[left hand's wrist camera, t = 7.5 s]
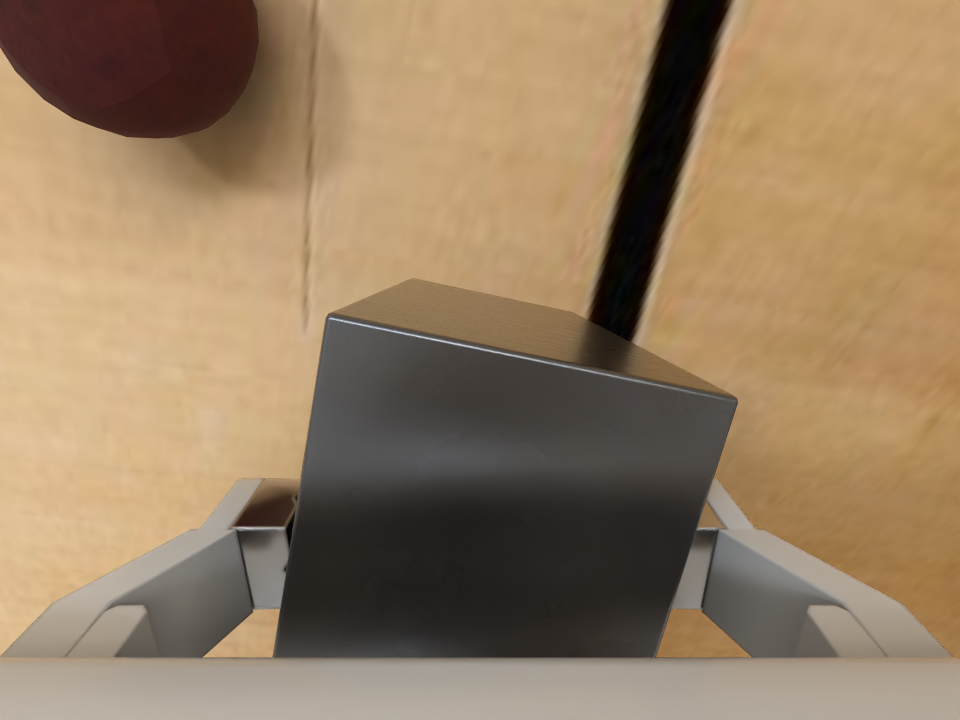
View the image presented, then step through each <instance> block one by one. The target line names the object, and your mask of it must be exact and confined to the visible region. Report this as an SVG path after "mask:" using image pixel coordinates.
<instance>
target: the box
mask: <svg viewBox="0 0 960 720" xmlns="http://www.w3.org/2000/svg"><path fill="white" fill-rule="evenodd" d="M737 404H738V400H737V398H736V397H734V396H733V395H731V394H729V393H727V392H725V391H723V390H721V389H720V388H718V387H716V386H714V385H712V384H710V383H708V382H706V381H704V380H702V379H700V378H698V377H696V376H694V375H693V374H691V373H689V372H687V371H685V370H683V369H681V368H679V367H677V366H675V365H673V364H671V363H669V362H667V361H666V360H664V359H662V358H660V357H658V356H656V355H654V354H652V353H650V352H648V351H646V350H644V349H642V348H640V347H639V346H637V345H635V344H633V343H631V342H629V341H627V340H625V339H623V338H621V337H619V336H617V335H615V334H613V333H612V332H610V331H608V330H606V329H604V328H602V327H600V326H598V325H596V324H594V323H592V322H590V321H588V320H586V319H585V318H583V317H581V316H579V315H577V314H575V313H573V312H569V311H564V310H559V309H555V308H550V307H545V306H541V305H536V304H531V303H527V302H522V301H517V300H513V299H508V298H503V297H499V296H494V295H489V294H485V293H480V292H475V291H471V290H466V289H461V288H457V287H452V286H447V285H443V284H438V283H433V282H428V281H424V280H419V279H414V278H412V279H409V280H407V281H405V282H402V283H400V284H398V285H395V286H393V287H391V288H388V289H386V290H383V291H381V292H379V293H376V294H374V295H372V296H369V297H367V298H364V299H362V300H360V301H357V302H355V303H353V304H350V305H348V306H346V307H343V308H341V309H338V310H336V311H334V312H331V313H329V314H328V315H327V317H326V319H325V326H324V332H323V338H322V345H321V351H320V358H319V364H318V370H317V377H316V383H315V389H314V396H313V402H312V409H311V415H310V421H309V428H308V434H307V441H306V447H305V453H304V460H303V466H302V472H301V479H300V485H299V492H298V498H297V504H296V511H295V517H294V524H293V530H292V536H291V543H290V549H289V555H288V562H287V568H286V575H285V581H284V587H283V594H282V600H281V607H280V613H279V619H278V626H277V632H276V639H275V645H274V651H273V657H464V658H656V655H657V652H658V648H659V645H660V642H661V639H662V636H663V633H664V630H665V627H666V624H667V621H668V617H669V614H670V611H671V608H672V605H673V602H674V599H675V596H676V593H677V590H678V586H679V583H680V580H681V577H682V574H683V571H684V568H685V565H686V562H687V559H688V555H689V552H690V549H691V546H692V543H693V540H694V537H695V534H696V531H697V528H698V524H699V521H700V518H701V515H702V512H703V509H704V506H705V503H706V500H707V497H708V493H709V490H710V487H711V484H712V481H713V478H714V475H715V472H716V469H717V466H718V462H719V459H720V456H721V453H722V450H723V447H724V444H725V441H726V438H727V435H728V432H729V428H730V425H731V422H732V419H733V416H734V413H735V410H736V407H737Z"/></svg>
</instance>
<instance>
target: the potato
mask: <svg viewBox="0 0 960 720" xmlns="http://www.w3.org/2000/svg"><path fill="white" fill-rule="evenodd" d="M258 42H259V40H258V25H257V10H256V8H255V5H254V2H253V0H0V48H1V50H2V51H3V53H4V54H5V56H6V57H7V59H8V60H9V62H10V63H11V65H12V67H13V68H14V70H15V71H16V72H17V73H18V74H19V75H20V76H21V77H22V78H23V79H24V80H25V81H26V82H27V83H28V84H29V85H30V86H31V87H32V88H33V89H34V90H35V91H36V92H37V93H38V94H39V95H40V96H41V97H42V98H43V99H44V100H45V101H47V102H48V103H50V104H52V105H53V106H55V107H56V108H58V109H59V110H61V111H62V112H64V113H66V114H67V115H69V116H70V117H72V118H73V119H76V120H78V121H81V122H84V123H86V124H89V125H91V126H94V127H97V128H100V129H103V130H106V131H109V132H113V133H116V134H119V135H122V136H126V137H138V138H173V137H177V136H181V135H185V134H189V133H193V132H197V131H200V130H203V129H205V128H208V127H209V126H211V125H212V124H213V123H215V122H216V121H217V120H219V119H220V118H221V117H223V116H224V115H225V114H227V113H228V112H229V110H230V109H231V108H232V106H233V105H234V103H235V102H236V101H237V99H238V98H239V96H240V95H241V94H242V92H243V91H244V89H245V87H246V84H247V82H248V79H249V77H250V75H251V72H252V69H253V66H254V61H255V56H256V51H257V47H258Z"/></svg>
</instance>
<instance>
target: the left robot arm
mask: <svg viewBox="0 0 960 720" xmlns="http://www.w3.org/2000/svg"><path fill="white" fill-rule="evenodd" d="M299 485H300V479H264V478H243V479H240V480H237V481H236V483H235V484H234V485H233V486H232V488H231V489H230V490H229V492H228V493H227V494H226V495H225V497H224V498H223V499H222V501H221V502H220V503H219V504H218V506H217V507H216V508H215V510H214V511H213V512H212V513H211V515H210V516H209V517H208V519H207V520H206V521H205V522H204V524H203V525H202V526H201V528H200V529H191V530H189V531H187V532H185V533H183V534H181V535H180V536H178V537H176V538H174V539H172V540H170V541H168V542H166V543H164V544H163V545H161V546H159V547H157V548H155V549H153V550H151V551H149V552H147V553H146V554H144V555H142V556H140V557H138V558H136V559H134V560H132V561H131V562H129V563H127V564H125V565H123V566H121V567H119V568H117V569H115V570H114V571H112V572H110V573H108V574H106V575H104V576H102V577H100V578H98V579H97V580H95V581H93V582H91V583H89V584H87V585H85V586H83V587H81V588H80V589H78V590H76V591H74V592H72V593H70V594H68V595H66V596H64V597H63V598H61V599H59V600H57V601H55V602H53V603H52V604H51V605H50V606H49V607H48V608H47V609H46V610H45V611H44V612H43V613H42V614H41V615H40V616H39V617H38V618H37V619H36V620H35V621H34V622H33V623H32V624H31V625H30V626H29V627H28V628H27V629H26V630H25V631H24V632H23V633H22V635H21V636H20V637H19V638H18V639H17V640H16V641H15V642H14V643H13V644H12V645H11V646H10V647H9V648H8V649H7V650H6V651H5V652H4V653H3V654H2V655H1V656H0V720H960V657H953V656H952V655H951V654H950V653H949V652H948V651H947V650H946V649H945V648H944V647H943V646H942V645H941V644H940V643H939V641H938V640H937V639H936V638H935V637H934V636H933V635H932V634H931V633H930V632H929V631H928V630H927V629H926V628H925V627H924V626H923V625H922V624H921V623H920V622H919V621H918V620H917V619H916V618H915V616H914V615H913V614H912V613H911V612H910V611H909V610H908V609H907V608H906V607H905V606H904V605H903V604H902V603H900V602H898V601H896V600H894V599H893V598H891V597H889V596H887V595H885V594H883V593H881V592H880V591H878V590H876V589H874V588H872V587H870V586H868V585H867V584H865V583H863V582H861V581H859V580H857V579H855V578H853V577H852V576H850V575H848V574H846V573H844V572H842V571H840V570H839V569H837V568H835V567H833V566H831V565H829V564H827V563H825V562H824V561H822V560H820V559H818V558H816V557H814V556H812V555H811V554H809V553H807V552H805V551H803V550H801V549H799V548H797V547H796V546H794V545H792V544H790V543H788V542H786V541H784V540H783V539H781V538H779V537H777V536H775V535H773V534H771V533H770V532H768V531H766V530H764V529H755V528H754V526H753V525H752V524H751V523H750V521H749V520H748V519H747V517H746V516H745V515H744V513H743V512H742V511H741V510H740V508H739V507H738V506H737V504H736V503H735V502H734V500H733V499H732V498H731V497H730V495H729V494H728V493H727V491H726V490H725V489H724V487H723V486H722V485H721V483H720V482H719V481H718V480H716V479H714V478H713V481H712V484H711V487H710V490H709V493H708V497H707V500H706V503H705V506H704V509H703V512H702V515H701V518H700V521H699V524H698V528H697V531H696V534H695V537H694V540H693V543H692V546H691V549H690V552H689V555H688V559H687V562H686V565H685V568H684V571H683V574H682V577H681V580H680V583H679V586H678V590H677V593H676V596H675V599H674V602H673V605H672V608H671V609H702V612H703V613H704V614H705V615H706V616H707V617H708V618H710V619H711V620H712V621H713V622H714V623H715V624H716V625H717V626H718V627H719V628H721V629H722V630H723V631H724V632H725V633H726V634H727V635H728V636H729V637H731V638H732V639H733V640H734V641H735V642H736V643H737V644H738V645H739V646H740V647H742V648H743V649H744V650H745V651H746V652H747V653H748V654H749V655H750V656H752V657H751V658H464V657H255V658H202V657H203V656H205V655H206V654H207V653H208V652H209V651H210V650H211V649H212V648H213V647H215V646H216V645H217V644H218V643H219V642H220V641H221V640H222V639H223V638H225V637H226V636H227V635H228V634H229V633H230V632H231V631H232V630H234V629H235V628H236V627H237V626H238V625H239V624H240V623H241V622H242V621H244V620H245V619H246V618H247V617H248V616H249V615H250V614H251V613H253V609H280V607H281V600H282V594H283V587H284V581H285V575H286V568H287V562H288V555H289V549H290V543H291V536H292V530H293V524H294V517H295V511H296V504H297V498H298V492H299Z"/></svg>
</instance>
